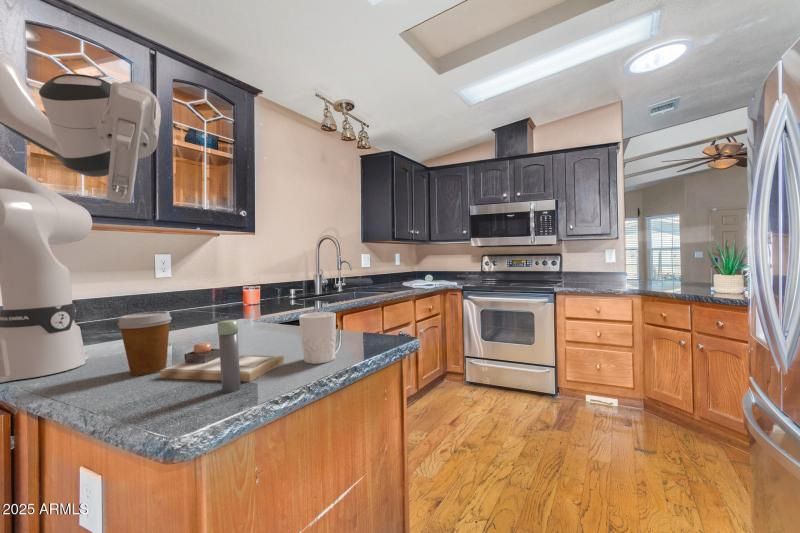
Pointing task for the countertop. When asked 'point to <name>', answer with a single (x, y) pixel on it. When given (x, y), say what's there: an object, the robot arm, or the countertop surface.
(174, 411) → the countertop surface
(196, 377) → the wooden tray
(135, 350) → the disposable coffee cup
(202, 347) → the button
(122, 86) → the robot arm
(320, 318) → the white cup
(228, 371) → the marker
